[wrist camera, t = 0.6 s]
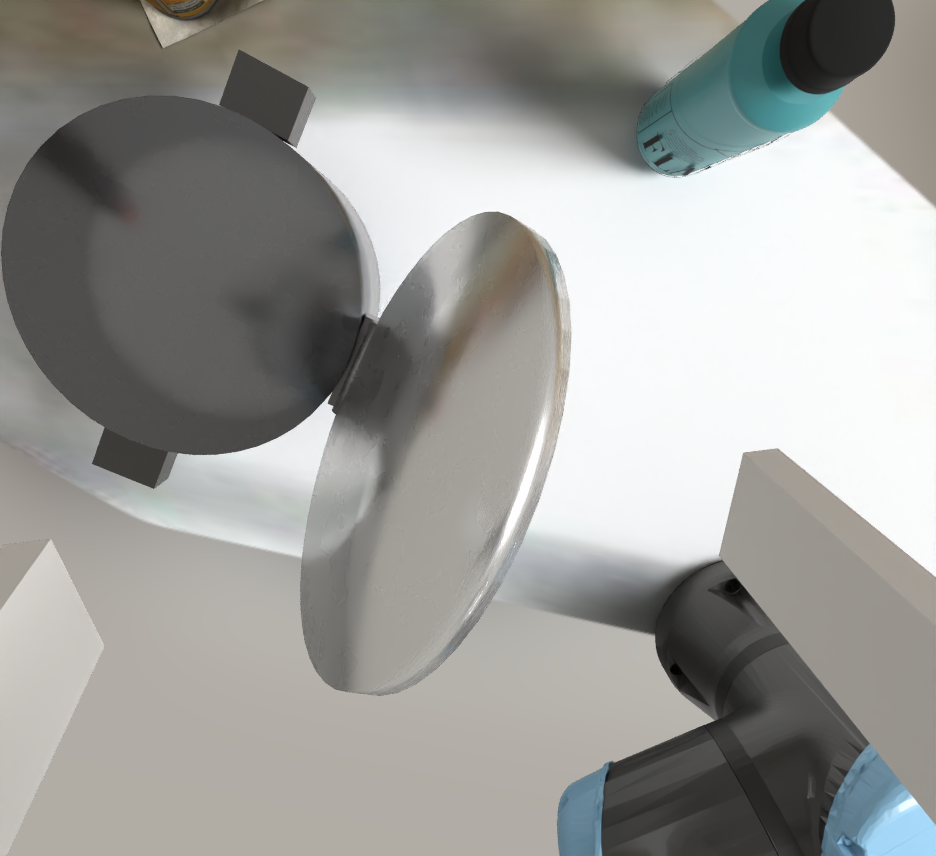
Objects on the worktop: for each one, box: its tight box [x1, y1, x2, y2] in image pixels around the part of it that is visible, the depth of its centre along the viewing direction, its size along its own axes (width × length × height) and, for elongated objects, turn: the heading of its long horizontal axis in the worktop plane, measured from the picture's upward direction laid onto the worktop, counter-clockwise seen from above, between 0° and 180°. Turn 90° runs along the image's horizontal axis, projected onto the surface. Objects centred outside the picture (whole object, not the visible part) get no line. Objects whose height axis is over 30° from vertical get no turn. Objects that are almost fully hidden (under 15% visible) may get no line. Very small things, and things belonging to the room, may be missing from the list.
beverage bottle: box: [637, 0, 895, 178], centre depth 34 cm, size 6×7×20 cm
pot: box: [1, 50, 380, 489], centre depth 39 cm, size 22×26×12 cm
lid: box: [300, 212, 571, 696], centre depth 27 cm, size 22×21×3 cm
